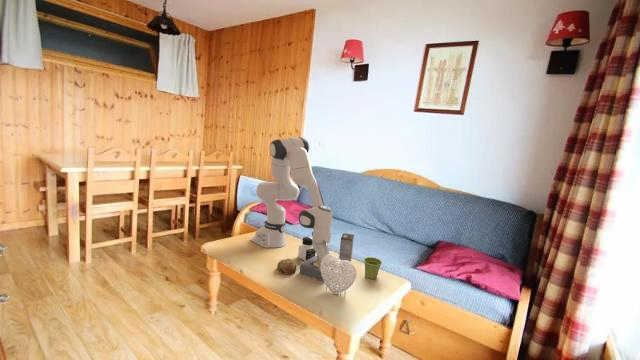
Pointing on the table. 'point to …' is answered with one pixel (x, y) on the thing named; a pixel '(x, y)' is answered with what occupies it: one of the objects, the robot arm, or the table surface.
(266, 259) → the table surface
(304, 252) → the medicine bottle
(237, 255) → the table surface
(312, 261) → the switch block
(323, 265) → the decorative heart
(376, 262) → the plant pot
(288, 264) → the bread roll
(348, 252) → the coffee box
